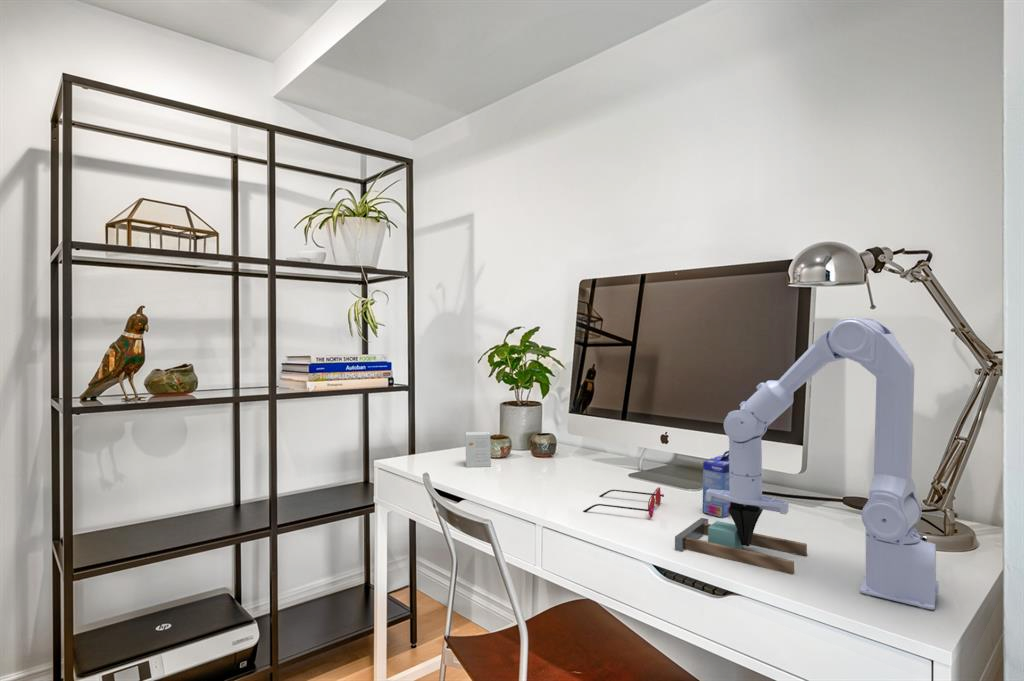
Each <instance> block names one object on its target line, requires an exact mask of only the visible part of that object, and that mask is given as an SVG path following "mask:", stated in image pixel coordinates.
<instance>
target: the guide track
mask: <svg viewBox="0 0 1024 681" xmlns="http://www.w3.org/2000/svg"><path fill="white" fill-rule="evenodd" d="M711 525H712V524H709V523H708V524H704V535H705V534H707V535H706V536H708V527H709V526H711ZM750 545H752V546H757V547H762V548H767V549H769V550H770V549H771V550H776V551H781V552H785V553H789V554H794V555H799V556H805V557H806V556H807V555H808V544H807V543H805V542H800V541H796V540H789V539H785V538H780V537H776V536H775V537H774V536H770V535H765V534H761V533H755V532H753V535H752V540H751V544H750ZM687 549H688V551H693V552H696V553H701V554H704V555H709V556H713V557H719V558H722V559H726V560H731V561H734V562H739V563H743V564H747V565H751V566H756V567H761V568H765V569H769V570H774V571H776V572H777V571H778V572H782V573H786V574H790V575H794V573H795V560H791V559H788V558H782V557H778V556H773V555H768V554H764V553H759V552H755V551H750V550H748V549H747V550H746V549H742V548H741V549H738V548H734V547H729V546H725V545H720V544H716V543H711V542H708V540H707V541H706V540H701V539H698V540H697V539H693V538H688V537H687V538H686V539H685V550H687Z"/></svg>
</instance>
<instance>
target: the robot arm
mask: <svg viewBox="0 0 1024 681" xmlns="http://www.w3.org/2000/svg"><path fill="white" fill-rule="evenodd" d="M844 359H848V360H850V361H853V362H856V363H857V364H859V365H861V366H862V367H863V368H864V369H866V370H867V371H868V372H869V373H870V374H871V375H873V376H874V377H875V379H876V380H875V382H876V383H875V384H876V385H875V386H876V387H875V413H874V414H875V420H874V423H875V424H874V453H873V454H874V455H873V478H872V479H871V483H870V486H869V490H868V499H867V502H866V503H865V505H864V506H863V508H862V510H861V521H862V524H863V526H864V527H865V532H864V533H865V534H864V535H865V536H864V537H865V575H864V578H863V581H862V583H861V586H860V589H859V592H860V593H861V594H865V595H868V596H872V597H873V596H874V597H878V598H882V599H885V600H889V601H895V602H896V603H897V602H898V603H903V604H906V605H910V606H915V607H919V608H923V609H927V610H931V611H933V610H935V606H936V599H937V594H939V581H938V580H937V547H936V546H937V545H936V543H933V542H930V541H929V542H928V541H925V540H922V539H921V535H920V534H919V532H918V530H917V528H916V527H915V526H916V524H917V523H919V521H920V520H921V518H922V514H923V512H922V506H921V504H920V502H919V500H918V498H917V496H916V484H915V482H914V480H913V477H912V468H913V467H912V466H913V463H912V462H913V435H914V434H913V432H914V398H915V397H914V396H915V366H914V362H913V360H912V359H911V358H910V357H909V355H908V353H906V351H905V349H904V348H903V346H902V345H901V344H900V343H899V341H898V339H897V337H896V336H895V334H894V331H893V330H891V329H890V328H888V327H887V326H885V325H884V324H882V323H881V322H880V321H878V320H875V319H872V318H854V317H847V318H842V319H840V320H838V321H837V322H836V323H835V324H833V326H832V327H831V328H830V330H826V331H825V332H824V333H822V334H821V335H820V336H819V337H818V338H817V339H816V340H815V341H814V342H813V343H812V344H811V346H810V347H808V349H807V350H806V351H804V353H803V354H802V355H801V356H800V357H798V359H797V360H796V361H795V362H794V364H792V365H791V366H790V367H789V369H787V371H785V373H784V374H783V375H781V377H780V378H779V379H778V380H767V381H766V382H760V383H758V384H757V386H756V387H755V388H756V389H757V390H756V391H755V392H754V393H753V394H752V395H751V396H750V397H748V399H746V401H745V400H744V401H741V402H740V404H739V407H740V408H739V409H737V410H736V409H735V410H732V411H728V413H727V416H726V417H725V418H724V420H723V429H724V433H725V434H726V436H727V437H728V451H729V486H730V491H727V490H715V489H708V490H707V491H706V501H718V502H724V503H729V504H730V508H729V509H728V510H729V514H730V515H729V516H730V517H731V519H732V521H733V522H734V523H733V524H735V525H736V528H737V530H738V534H739V537H740V542H741V545H743V547H750V545H752V544H751V540H752V535H753V533H754V532H755V528H756V525H757V523H758V521H759V518H760V516H761V514H762V513H763V510H765V511H770V512H776V513H779V514H780V515H787V514H788V513H789V501H787V500H782V499H777V498H773V497H770V496H767V495H763V475H762V474H763V458H762V456H763V455H762V454H763V453H762V452H763V451H762V450H763V448H762V437H763V436H764V435H765V434H766V433H767V430H768V426H770V425H771V424H772V423H773V422H774V421H775V420H777V418H779V417H780V416H781V415H782V414H783V413H784V412H785V411H786V410H788V408H790V407H791V406H792V405H793V403H794V393H795V392H796V391H797V390H798V389H800V388H801V387H802V386H803V385H804V384H805V383H806V382H808V381H809V380H810V379H811V378H812V377H813V376H815V375H816V374H817V373H818V372H819V371H820V370H822V369H823V368H825V366H826V365H828V364H829V363H833V362H838V361H841V360H844Z"/></svg>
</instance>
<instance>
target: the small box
mask: <svg viewBox="0 0 1024 681" xmlns="http://www.w3.org/2000/svg"><path fill="white" fill-rule="evenodd" d="M464 438H465V467H466V468H487V467H492V459H491V458H492V456H491V455H492V454H491V453H492V452H491V450H492V449H491V448H492V447H491V445H492V444H491V433H490V430H487V431H486V430H485V431H480V430H479V431H466V432H465V437H464Z"/></svg>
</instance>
